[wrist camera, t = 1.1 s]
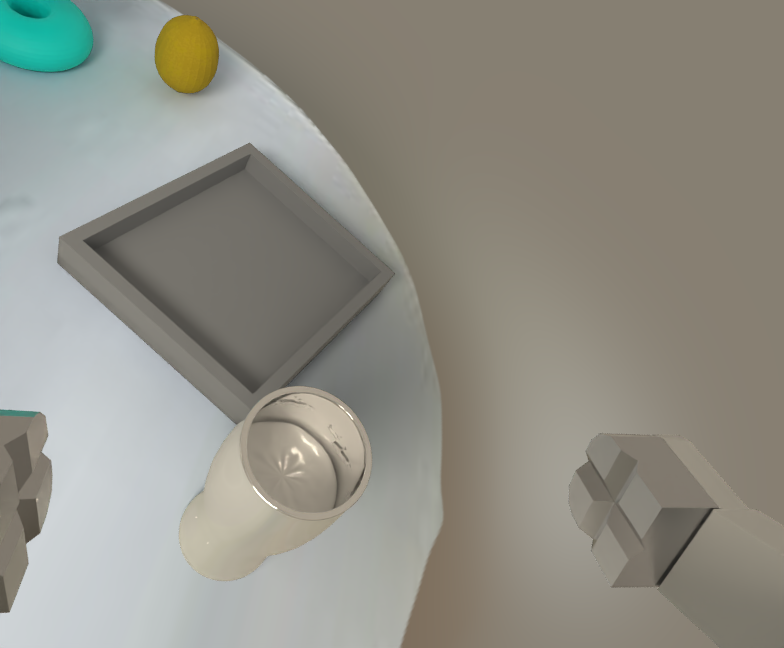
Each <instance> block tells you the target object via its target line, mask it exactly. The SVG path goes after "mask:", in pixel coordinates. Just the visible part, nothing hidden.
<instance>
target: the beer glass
mask: <svg viewBox="0 0 784 648" xmlns="http://www.w3.org/2000/svg"><path fill="white" fill-rule="evenodd" d="M371 468H372V452H371V446H370V442H369V439H368V436H367V433H366V431H365V429H364V427H363V425H362V423H361V421H360V420H359V418H358V417H357V416H356V414H355V413H354V412H353V411H352V410H351V409H350V408H349V407H348V406H347V405H346V404H345V403H344V402H342V401H341V400H340V399H338V398H337V397H335V396H333V395H332V394H330V393H328V392H325V391H323V390H320V389H317V388H313V387H307V386H291V387H285V388H281V389H278V390H276V391H273V392H271V393H269V394H268V395H266V396H265V397H263V398H262V399H261V400H259V401H258V402H257V403H256V404H255V405H254V406H253V408H252V409H251V410H250V412H249V413H248V414H247V415H246V416H245V417H244V418H243V419H242V420H241V421H240V422H239V423H238V424H237V425H236V426H235V427H234V429H233V430H232V431H231V432H230V434H229V435H228V436H227V437H226V439H225V440H224V441H223V443H222V444H221V446H220V448H219V450H218V451H217V453H216V455H215V456H214V458H213V461H212V463H211V466H210V469H209V472H208V475H207V478H206V482H205V487H204V491H202V492H201V493H200V494H198V495H197V496H196V497H195V498H194V499H193V500H192V501H191V502H190V503H189V505H188V506H187V508H186V509H185V511H184V513H183V515H182V518H181V521H180V525H179V543H180V548H181V551H182V554H183V556H184V558H185V560H186V561H187V563H188V564H189V565H190V566H191V567H192V568H193V569H194V570H195V571H196V572H197V573H199V574H200V575H202V576H204V577H206V578H209V579H212V580H216V581H233V580H237V579H240V578H243V577H245V576H247V575H249V574H250V573H252V572H253V571H254V570H256V569H257V568H258V567H259V566H260V565H261V564H262V563H263V561H264V560H265V559H266V557H267V556H272V555H277V554H281V553H284V552H287V551H290V550H293V549H296V548H298V547H300V546H302V545H304V544H305V543H307V542H309V541H311V540H312V539H314V538H315V537H317V536H318V535H320V534H321V533H322V532H323V531H325V530H326V529H327V528H328V527H330V526H331V525H332V524H333V523H334V522H335V521H336V520H337V519H338V518H339V517H340V516H341V515H342V514H343V513H344V512H345V511H346V510H348V509H349V508H350V507H352V506H353V505H354V504H355V503H356V502H357V501H358V499H359V498H360V497H361V495H362V494H363V492H364V490H365V488H366V486H367V484H368V481H369V478H370V474H371Z"/></svg>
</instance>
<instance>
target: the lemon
mask: <svg viewBox="0 0 784 648" xmlns="http://www.w3.org/2000/svg"><path fill="white" fill-rule="evenodd" d="M218 59H219V48H218V43H217V39H216V37H215V35H214V33H213V31H212V30H211V29H210V27H209V26H208V25H207V24H206V23H205V22H203V21H202V20H200V19H199V18H198V17H196V16H189V15H182V16H177V17H174V18H172V19H171V20H170V21H168V22H167V23H166V24H165V25H164V27H163V29H162V30H161V32H160V34H159V36H158V39H157V42H156V46H155V64H156V67H157V70H158V73H159V75H160V76H161V78H162V79H163V81H164V82H165V83H166V84H167V85H168V86H170V87H171V88H173V89H174V90H176V91H177V92H182V93H195V92H198V91H201V90H202V89H204V88H205V87H207V86H208V85H209V83H210V82H211V80H212V79H213V77H214V75H215V73H216V70H217V65H218Z"/></svg>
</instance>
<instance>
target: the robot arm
mask: <svg viewBox="0 0 784 648" xmlns="http://www.w3.org/2000/svg"><path fill="white" fill-rule="evenodd" d="M47 437H48V430H47V424H46V417H45V415H43V414H42V413H41V412H33V411H16V410H0V613H7V612H10V610H11V607H12V605H13V602H14V600H15V597H16V595H17V592H18V589H19V587H20V584H21V582H22V579H23V576H24V574H25V571H26V569H27V566H28V564H29V563H28V555H27V548H26V544H27V543H28V542H29V541H30V540H32V539H33V538H34V537H36V536H37V535H38V534H39V533H40V532H41V529H42V526H43V524H44V521H45V518H46V515H47V512H48V507H49V502H50V497H51V492H52V465H51V460H50V459H49V458H47V457H46V456H45V455H44V454H43V453H42V452H41V451H42V449H43V447H44V444H45V442H46V440H47ZM586 454H587V457H588V460H589V461H588V462H587V463H585V464H584V465H583V466H582V467H580V468H579V469H577V470H576V471H575V473H574V475H573V478H572V480H571V482H570V484H569V506H570V509H571V513H572V516H573V518H574V520H575V521H576V524H577V526H578V527H579V528H580V529H581V530H582V531H584V532H585V533H586V534H587V535H589V536H590V537H591V538H592V539H593V544H592V549H591V552H592V553H593V555H594V557H595V559H596V561H597V562H598V564H599V566H600V568H601V570H602V572H603V573H604V575H605V577H606V579H607V581H608V583H609V584H610V586H611V587H659V588H658V589H657V590H658V591H659V592H660V593H661V594H662V595H663V596H665V597H666V598H667V599H668V600H669V601H670V602H671V603H672V604H673V605H674V606H675V607H676V608H677V609H679V610H680V611H681V612H682V613H683V614H684V615H685V616H686V617H687V618H688V619H689V620H690V621H691V622H692V623H694V624H695V625H696V626H697V627H698V628H699V629H700V630H701V631H702V632H703V633H704V634H705V635H706V636H708V637H709V638H710V639H711V640H712V641H713V642H714V643H715V644H716V645H717V646H718V647H719V648H784V526H783V525H781V524H780V523H778V522H777V521H775V520H773V519H772V518H770V517H768V516H767V515H765V514H763V513H762V512H760V511H759V510H757V509H748V508H747V506H746V505H745V504H744V503H743V502H742V501H741V499H740V498H739V497H738V496H737V495H736V494H735V493H734V491H733V490H732V489H731V488H730V487H729V486H728V484H727V483H726V482H725V481H724V480H723V479H722V478H721V476H720V475H719V474H718V473H717V472H716V471H715V470H714V468H713V467H712V466H711V465H710V464H709V463H708V461H707V460H706V459H705V458H704V457H703V456H702V455H701V454H700V452H699V451H698V450H697V449H696V448H695V446H693V444H692V443H691V442H690V441H689V440H687V439H686V438H684V437H682V436H680V435H635V434H601V433H600V434H598V435H597V436H596V437H594V438H593V439H592V440H591V442H590V444H589V446H588V448H587V449H586Z"/></svg>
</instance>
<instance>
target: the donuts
mask: <svg viewBox="0 0 784 648" xmlns="http://www.w3.org/2000/svg"><path fill="white" fill-rule="evenodd" d="M92 47H93V33H92V29H91V27H90V24H89V22H88V20H87V19H86V17H85V16H84V14H83V13H82V12H81V10H80V9H79V8H78V7H77V6H76V5H75V4H74V3H73V2H71V1H70V0H0V60H1V61H3V62H6V63H8V64H11V65H13V66H16V67H20V68H23V69H28V70H33V71H41V72H57V71H64V70H68V69H71V68H73V67H76V66H78V65H79V64H81V63H82V62H83V61H84V60H85V59H86V58H87V57H88V56H89V54H90V52H91V50H92Z"/></svg>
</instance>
